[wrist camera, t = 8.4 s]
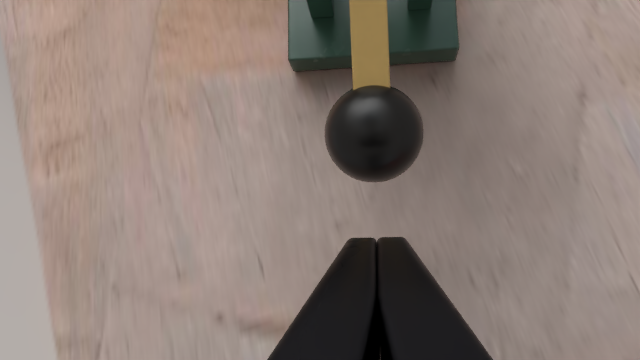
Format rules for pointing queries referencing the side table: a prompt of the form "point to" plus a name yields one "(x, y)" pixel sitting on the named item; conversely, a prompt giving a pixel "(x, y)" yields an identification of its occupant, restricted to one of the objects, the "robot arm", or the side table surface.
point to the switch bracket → (403, 33)
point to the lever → (372, 106)
